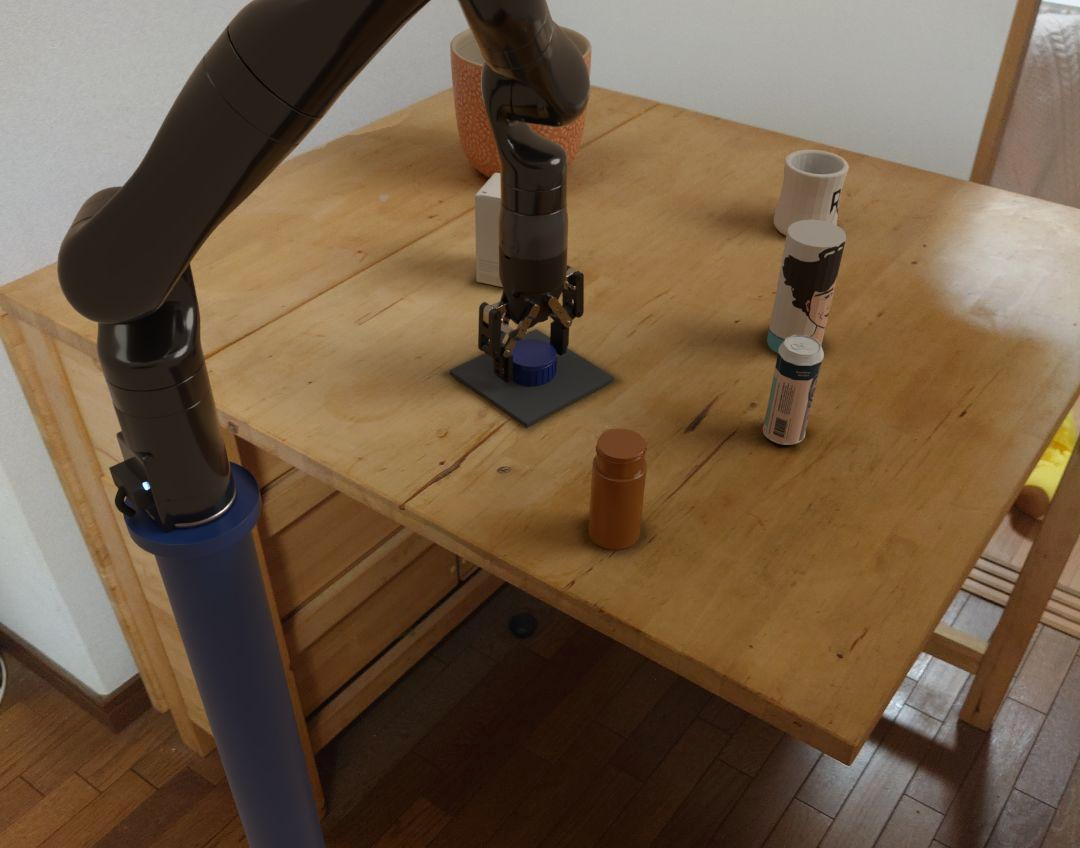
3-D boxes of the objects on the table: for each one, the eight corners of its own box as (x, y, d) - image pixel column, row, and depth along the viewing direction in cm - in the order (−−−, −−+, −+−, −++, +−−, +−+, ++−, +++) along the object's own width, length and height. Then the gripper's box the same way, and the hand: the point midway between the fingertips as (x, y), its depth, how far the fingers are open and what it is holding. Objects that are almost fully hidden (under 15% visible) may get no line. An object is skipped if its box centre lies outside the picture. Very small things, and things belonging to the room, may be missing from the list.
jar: (614, 557, 106) (621, 468, 98) (577, 530, 108) (582, 441, 100) (650, 534, 108) (660, 444, 100) (613, 508, 111) (621, 419, 103)
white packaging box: (526, 293, 142) (526, 203, 133) (474, 282, 144) (472, 193, 135) (545, 267, 147) (547, 179, 138) (495, 257, 149) (494, 170, 140)
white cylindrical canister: (806, 364, 131) (831, 253, 120) (757, 346, 134) (777, 235, 123) (829, 340, 135) (855, 230, 124) (781, 323, 138) (802, 214, 127)
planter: (428, 175, 167) (420, 49, 154) (506, 131, 180) (505, 11, 167) (536, 211, 159) (538, 81, 146) (610, 163, 171) (618, 39, 158)
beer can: (812, 444, 119) (833, 353, 111) (773, 451, 118) (792, 360, 110) (792, 419, 123) (812, 329, 114) (754, 426, 121) (772, 335, 113)
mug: (830, 247, 152) (845, 180, 145) (767, 237, 154) (779, 170, 147) (841, 210, 161) (856, 145, 154) (781, 200, 163) (793, 136, 156)
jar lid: (504, 359, 129) (504, 340, 127) (553, 357, 130) (553, 337, 128) (508, 388, 125) (508, 368, 123) (559, 385, 126) (559, 365, 124)
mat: (526, 428, 121) (526, 423, 120) (449, 374, 128) (449, 370, 128) (614, 381, 128) (614, 376, 127) (536, 332, 135) (536, 328, 135)
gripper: (557, 208, 121) (554, 331, 132) (460, 247, 114) (465, 374, 125) (604, 232, 117) (596, 356, 128) (506, 274, 110) (507, 402, 121)
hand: (531, 365), depth 127 cm, fingers open, 8 cm apart
